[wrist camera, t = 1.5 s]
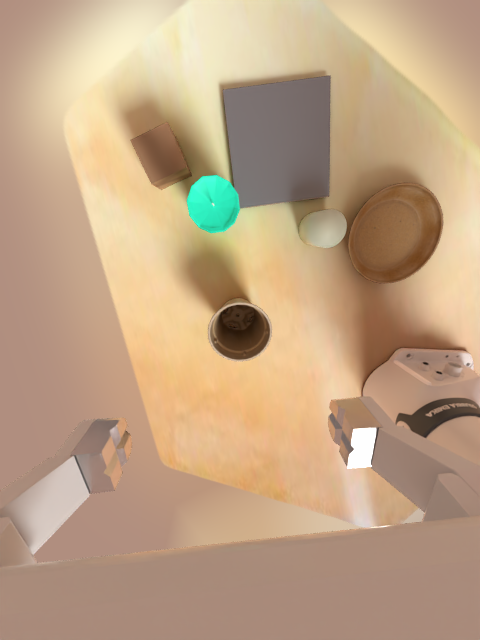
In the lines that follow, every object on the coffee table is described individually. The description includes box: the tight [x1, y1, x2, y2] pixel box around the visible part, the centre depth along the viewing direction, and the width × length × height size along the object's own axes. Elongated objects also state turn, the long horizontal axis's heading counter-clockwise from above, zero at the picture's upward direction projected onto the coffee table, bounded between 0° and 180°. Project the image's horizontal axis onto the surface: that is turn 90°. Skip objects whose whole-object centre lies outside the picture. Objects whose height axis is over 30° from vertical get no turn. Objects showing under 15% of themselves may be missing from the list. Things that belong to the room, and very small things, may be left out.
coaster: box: [223, 76, 330, 209], centre depth 33 cm, size 14×14×1 cm
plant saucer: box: [348, 183, 443, 283], centre depth 38 cm, size 15×15×3 cm
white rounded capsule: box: [299, 209, 347, 248], centre depth 35 cm, size 5×5×6 cm
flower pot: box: [208, 298, 272, 361], centre depth 39 cm, size 9×9×9 cm
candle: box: [187, 175, 240, 233], centre depth 31 cm, size 6×6×12 cm
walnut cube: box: [131, 122, 192, 190], centre depth 32 cm, size 5×5×5 cm
